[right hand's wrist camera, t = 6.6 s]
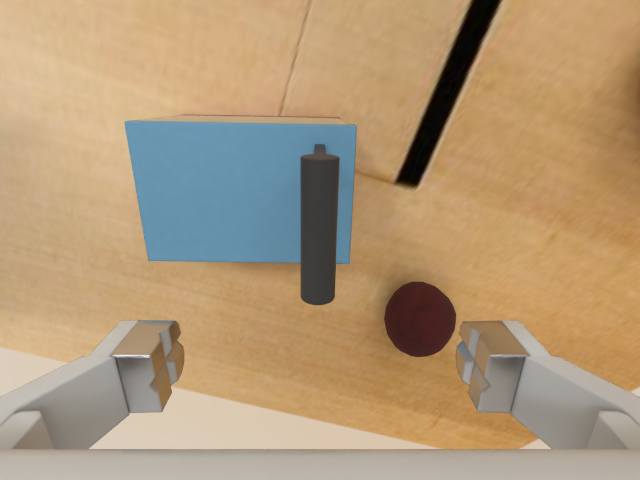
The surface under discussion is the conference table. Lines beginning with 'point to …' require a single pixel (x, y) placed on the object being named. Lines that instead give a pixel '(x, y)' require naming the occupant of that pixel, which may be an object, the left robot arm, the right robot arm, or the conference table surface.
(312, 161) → the lid
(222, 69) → the conference table surface
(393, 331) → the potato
